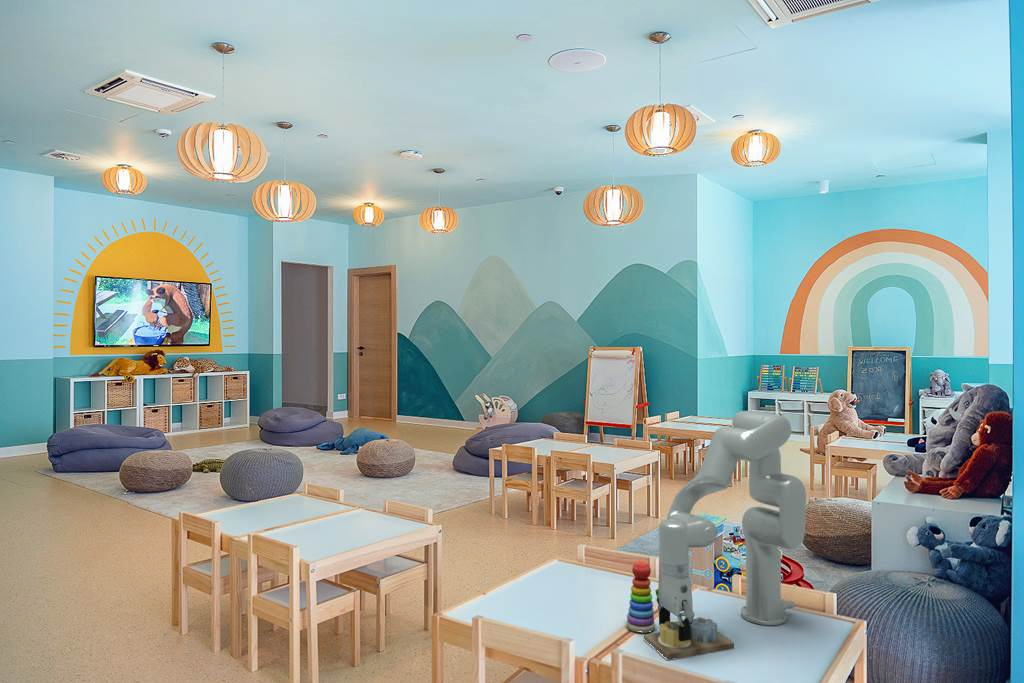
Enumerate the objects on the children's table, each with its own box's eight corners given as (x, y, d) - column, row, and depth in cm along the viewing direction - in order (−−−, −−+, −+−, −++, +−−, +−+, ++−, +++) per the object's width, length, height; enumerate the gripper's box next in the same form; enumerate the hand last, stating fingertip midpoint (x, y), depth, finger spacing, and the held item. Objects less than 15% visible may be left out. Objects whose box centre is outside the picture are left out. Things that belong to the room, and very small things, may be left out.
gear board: (707, 629, 193) (707, 608, 193) (734, 648, 182) (734, 625, 182) (643, 640, 187) (643, 618, 187) (667, 660, 176) (666, 636, 176)
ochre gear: (679, 632, 188) (679, 619, 188) (695, 644, 181) (695, 630, 181) (654, 636, 186) (654, 623, 186) (669, 648, 179) (669, 635, 178)
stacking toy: (655, 635, 190) (655, 567, 190) (625, 633, 192) (625, 565, 191) (655, 623, 198) (655, 557, 198) (627, 621, 200) (626, 556, 199)
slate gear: (698, 627, 191) (698, 613, 191) (722, 636, 186) (722, 622, 185) (681, 635, 186) (681, 621, 186) (706, 645, 181) (706, 630, 181)
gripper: (705, 577, 176) (705, 644, 176) (669, 556, 192) (669, 617, 193) (679, 581, 174) (679, 649, 174) (645, 559, 190) (645, 621, 190)
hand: (674, 632), depth 183 cm, fingers open, 9 cm apart
